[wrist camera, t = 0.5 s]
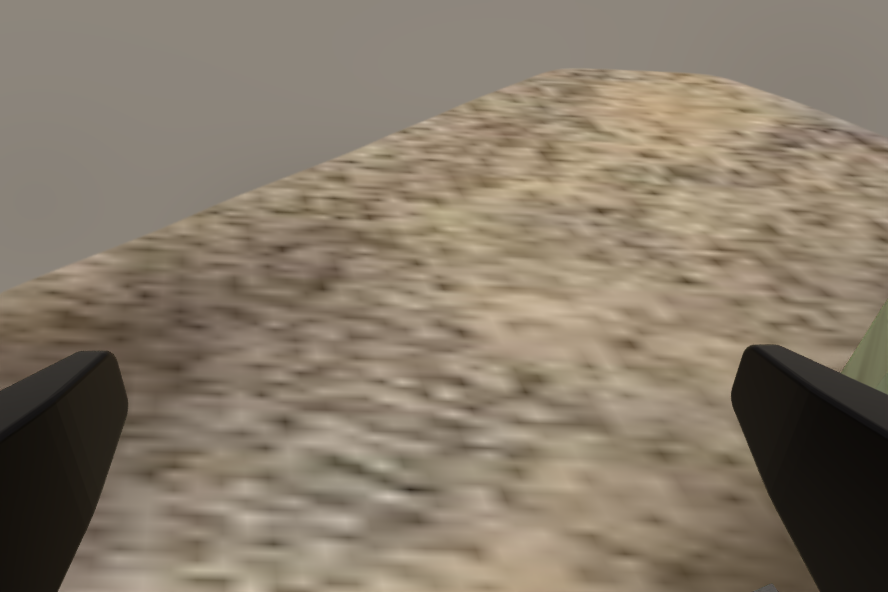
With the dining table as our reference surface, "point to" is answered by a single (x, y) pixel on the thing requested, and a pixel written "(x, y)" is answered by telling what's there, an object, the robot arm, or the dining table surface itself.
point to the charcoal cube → (767, 589)
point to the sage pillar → (872, 355)
